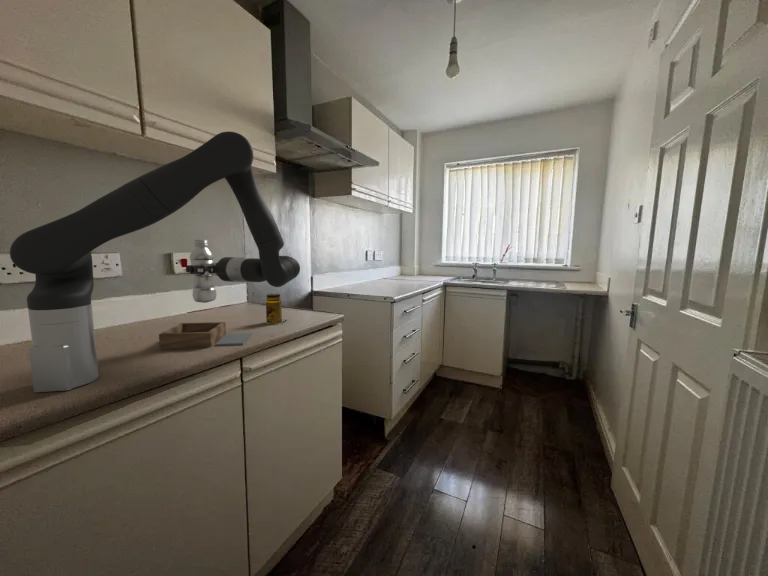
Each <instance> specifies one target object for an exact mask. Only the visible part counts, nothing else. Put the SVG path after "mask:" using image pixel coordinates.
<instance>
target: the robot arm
mask: <svg viewBox="0 0 768 576" xmlns="http://www.w3.org/2000/svg"><path fill="white" fill-rule="evenodd" d="M253 161H254V149H253V147H252V144H251V143H250V141H249V139H248V138H246V136H244V135H242V134H241V133H238V132H235V131H223V132H220V133H217V134H216V135H214V136H213V137H211V138H210V139H208V140H207V141H205V143H203V144H201V145H200V146H199V147H197V148H196V149H194V150H192V151H191V152H190V153H188V154H186V155H184V156H182V157H179V158H178V159H175V160H173V161H171V162H168V163H166V164H163V165H162V166H160V167H157V168H155V169H153V170H151V171H149V172H147V173H144V174H142V175H140V176H138V177H136V178H133V179H132V180H130V181H129V182H126V183H124V184H123V185H121V186H119V187H118V188H116V189H114V190H113V191H110V192H109V193H107V194H105V195H103V196H101V197H99V198H98V199H96V200H94V201H92V202H91V203H89V204H88V205H86V206H84V207H82V208H80V209H79V210H77V211H75V212H72V213H70V214H68V215H66V216H63V217H61V218H58V219H55V220H53V221H51V222H48V223H46V224H43V225H40V226H38V227H35V228H32V229H30V230H28V231H25V232H23V233H22V234H20V235H19V236H18V237H16V238H15V239H14V240H13V242H12V244H11V245H10V248H9V256H10V257H9V258H10V260H11V262H12V263H13V264H14V266H15V267H17V268H18V269H20V270H21V271H24V272H26V273H29V274H33V275H35V283H34V286H33V288H32V290H31V291H30V292H29V293H28V295H27V296H26V304H27V311H28V319H29V327H30V336H31V344H32V345H31V346H30V347H29V348H28V356H29V365H30V372H31V379H32V387H33V393H45V392H46V393H47V392H48V393H50V392H64V391H70V390H72V389H75V388H77V387H81V386H84V385H86V384H87V385H88V384H90V383H92V382H94V381H96V380H97V379H98V378H99V376H100V375H99V365H98V355H97V347H96V346H97V345H96V338H95V337H96V334H95V329H94V328H95V326H94V317H93V316H94V314H93V306H92V293H93V292H94V267H93V256H92V255H93V254H92V252H93V250H95V249H97V248H98V247H100V246H102V245H104V244H105V243H108V242H110V241H111V240H114V239H117V238H119V237H123V236H126V235H128V234H131V233H134V232H137V231H139V230H142V229H145V228H147V227H150V226H152V225H154V224H156V223H158V222H160V221H162V220H163V219H165V218H167V217H169V216H171V215H172V214H174V213H175V212H177V211H178V210H180V209H181V208H183V207H184V206H186V205H187V204H188V203H189V202H191V201H192V200H193V199H195V197H196V196H198V194H200V193H201V192H202V191H203V190H204V189H206V188H207V187H208V186H210V185H213V184H214V183H216V182H218V181H220V180H223V179H225V180H226V182H227V184H228V185H229V187H230V189H231V191H232V193H233V195H235V196H234V197H235V199H236V201H237V202H238V205H239V207H240V208H241V212H242V213H243V217H244V219H245V222H246V224H247V227H248V229H249V231H250V234H251V236H252V238H253V240H254V243H255V244H256V247H257V250H258V256H259V258H254V257H253V258H251V257H244V256H243V257H241V256H240V257H238V256H235V257H233V256H226V257H225V256H224V257H222V258H220V259H219V260H218V261H217V262H213V263H211V264H201V265H191V264H190V265H189V264H187V265H186V266H185V271H186V273H188V274H190V275H193V274H201V275H212V276H213V277H215V276H216V277H218V278H219V279H220V280H222V281H223V282H231V283H232V282H233V283H247V282H248V283H262V282H267V283H268V285H271V287H274V288H280V287H283V286H284V285H286V284H288V283H289V282H291V281H292V280H295V279H296V278H297V277H298V275H299V274H300V271H301V265H300V263H299V261H298V260H297V259H295V258H293V257H292V256H289V255H280V251H281V249H283V248H284V246H285V245H284V244H285V242H284V239H283V237H282V234H281V231H280V229H279V227H278V225H277V223H276V222H277V221H276V220H275V218H274V216H273V213H271V211H270V209H269V207H268V205H267V203H266V201H265V200H264V197H263V196H262V194H261V191H260V189H259V187H258V184H257V181H256V178H255V175H254V170H253V166H252V164H253V163H254V162H253ZM206 265H211V266H207V268H206ZM206 272H208V273H206Z"/></svg>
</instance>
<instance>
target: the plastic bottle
mask: <svg viewBox="0 0 768 576" xmlns="http://www.w3.org/2000/svg"><path fill="white" fill-rule="evenodd" d="M193 243H194V244H193V246H194V249H193V250H192V251H191V253H190V254H189V260H190V265H201V264H211V263H214V258H215V257H214V254H213V253H212V251H211V250H210V249H209V244H208V243H209V241H208V239H194V241H193ZM207 266H211V265H206V268H207ZM206 273H208V272H206ZM192 276H193V285H192V286H193V289H192V297H193V298H192V299H193V301H194V302H196V303H202V304H205V303H210V302H214V301H216V299H217V289H216V287H215V281H214V276H212V275H201V274H192Z"/></svg>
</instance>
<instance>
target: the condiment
mask: <svg viewBox="0 0 768 576" xmlns="http://www.w3.org/2000/svg"><path fill="white" fill-rule="evenodd" d="M265 309H266V310H265V315H266V316H265V318H266V322H267V324H266V325H278V324H277V323H281V322H282V320H283V313H282V312H283V311H282V309H283V308H282V300H281V294H280V293H268V294H266V301H265ZM287 320H288V319H286V321H287ZM286 321H284V322H283V323H285V322H286Z"/></svg>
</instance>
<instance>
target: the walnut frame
mask: <svg viewBox="0 0 768 576" xmlns="http://www.w3.org/2000/svg"><path fill="white" fill-rule="evenodd" d="M226 329H227V325H226V321H217V322H213V321H211V322H209V321H208V322H180V323H178V324H177V325H174V326H173V327H169V329H166V330H164V331H162V332H160V333H159V334H158V339H159V349H160V350H169V349H189V348H190V349H191V348H193V349H195V348H196V349H197V348H212V347H213V346H214V345H216V343H217V342H219V341H220V340H221V339H222V338H223V337H225V336H226V335H227V330H226Z"/></svg>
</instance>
